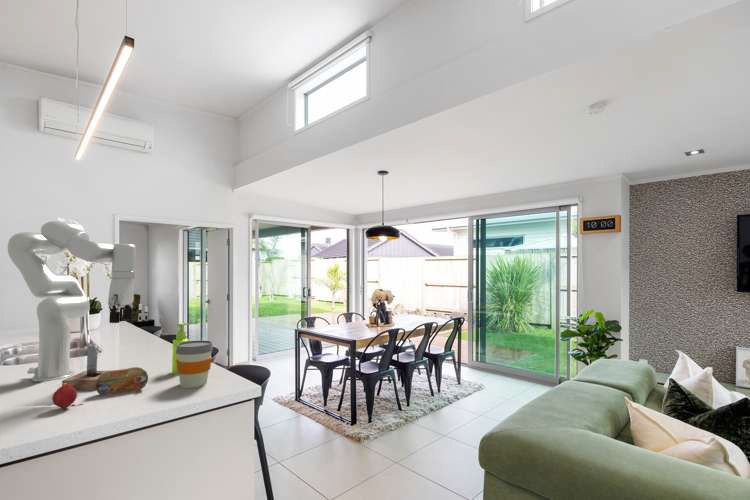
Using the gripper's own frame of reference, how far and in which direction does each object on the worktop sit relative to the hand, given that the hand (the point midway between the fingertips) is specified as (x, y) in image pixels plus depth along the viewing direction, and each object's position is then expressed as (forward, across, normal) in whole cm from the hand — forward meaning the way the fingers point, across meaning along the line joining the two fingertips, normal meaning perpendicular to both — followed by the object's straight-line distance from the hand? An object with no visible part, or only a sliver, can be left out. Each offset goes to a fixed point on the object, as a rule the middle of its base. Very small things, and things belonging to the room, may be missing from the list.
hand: (121, 320), depth 144 cm
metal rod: (+23, +4, -7) cm, 24 cm away
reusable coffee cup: (+23, +6, +29) cm, 37 cm away
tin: (+23, +14, +8) cm, 28 cm away
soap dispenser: (+23, -12, +18) cm, 32 cm away
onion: (+23, +27, -3) cm, 35 cm away
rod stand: (+23, +4, -7) cm, 25 cm away
